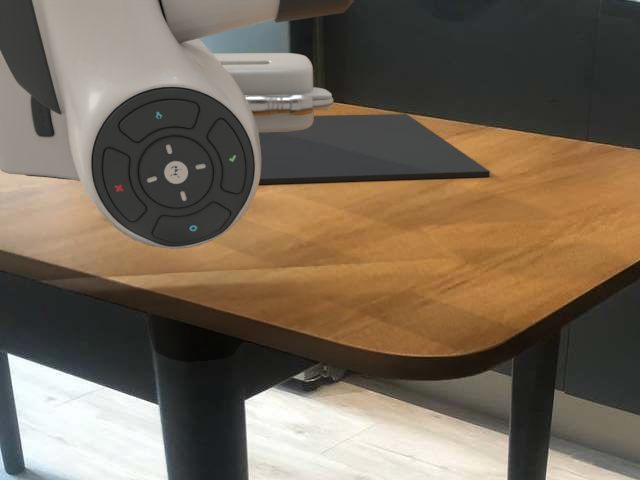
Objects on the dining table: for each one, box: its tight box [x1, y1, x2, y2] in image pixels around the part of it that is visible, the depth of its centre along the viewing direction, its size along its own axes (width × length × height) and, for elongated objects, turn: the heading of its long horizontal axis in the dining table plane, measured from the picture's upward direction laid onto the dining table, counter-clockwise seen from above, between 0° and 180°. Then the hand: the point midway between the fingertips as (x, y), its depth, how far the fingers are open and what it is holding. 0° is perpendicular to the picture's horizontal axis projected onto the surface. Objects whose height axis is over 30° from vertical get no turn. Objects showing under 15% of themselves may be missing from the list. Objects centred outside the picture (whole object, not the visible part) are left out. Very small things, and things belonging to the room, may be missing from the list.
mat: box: [258, 113, 491, 185], centre depth 108 cm, size 34×30×1 cm
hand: (141, 73), depth 71 cm, fingers closed
